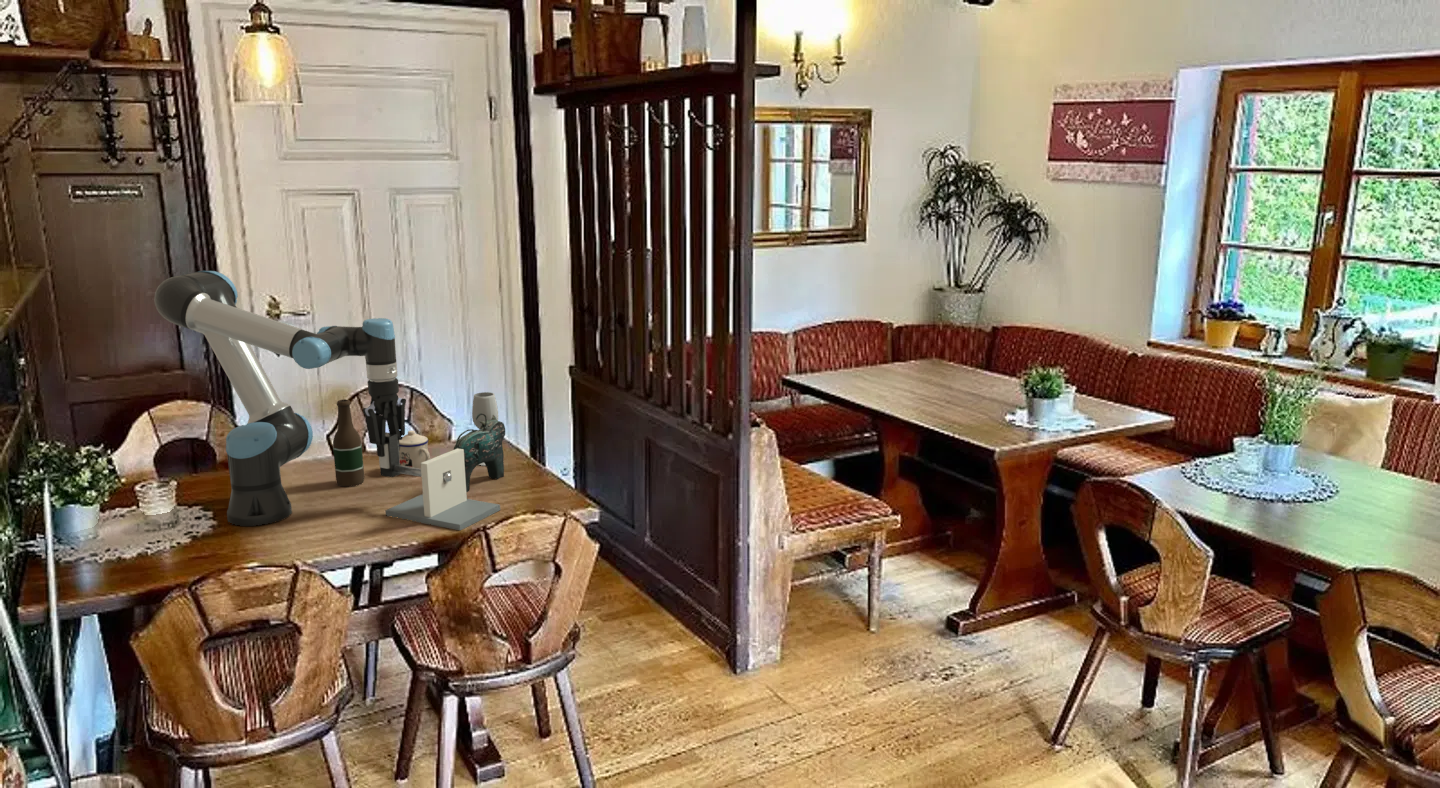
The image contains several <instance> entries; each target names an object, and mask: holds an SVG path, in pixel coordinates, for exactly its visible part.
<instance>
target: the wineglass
mask: <svg viewBox="0 0 1440 788" xmlns="http://www.w3.org/2000/svg"><path fill="white" fill-rule="evenodd" d="M497 404H498V403H497V400H496V396H495V393H494V392H489V391H487V392H486V391H485V392H483V391H482V392H476V393H474V394H473V399H472V409H471V417H472V418H471V419H472V423H473V425H474V426H475V427H476V428H477V430H480V427H481V425H482V424H481V423H480V422H479V421H483V422H485V417H484V415H480V416H479V417H478V419H477V420H476V417H477V415H478V414H480V413H482V414H485V415H486V419H487V420H491V419H492V416H493V415H494V416H495V417H496V419H497V420H498V421H499V410H498V405H497ZM479 465H481V466H480V467H486V464H485V463H481V464H479ZM479 465H478V466H479Z"/></svg>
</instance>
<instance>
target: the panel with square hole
mask: <svg viewBox="0 0 1440 788" xmlns="http://www.w3.org/2000/svg"><path fill="white" fill-rule="evenodd" d="M443 473H450V474H451V475H452V479H451V480H450V481H449V482H445V481H443ZM421 476H422V477H421V487H422V494H419V495H417V496H415V497H412V498H411V499H409V500H405V501H403V502H401V503H399V504H397V505H394V506H392V507H390V508H387V509H385V516H386V515H387V516H386V517H389V516H392V517H391V518H394V517H398V518H397V519H399V518H402V519H401V520H404V519H408V520H407V521H409V520H412V522H415V521H416V523H420V522H421V523H420V524H426V525H430V524H431V525H430V526H436V527H441V528H447V529H451V530H456V531H462V530H464V529H466V528H468V527H470V526H471V525H474V524H476V523H478V522H480V521H482V520H484V519H486V518H488V517H489V516H491V515H493V514H496V513H497V512H499V511H501V504H498V503H494V502H489V501H480V500H476V499H470V498H468V496H467V492H466V479H465V463H464V449H458V448H457V449H455V450H450V451H448V452H445V453H442V454H440V455H438V456H434V457H433V458H430V460H427V461H425V462H422V463H421Z"/></svg>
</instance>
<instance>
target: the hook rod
mask: <svg viewBox="0 0 1440 788" xmlns="http://www.w3.org/2000/svg"><path fill="white" fill-rule="evenodd" d="M385 444H388V453H389V465H390V468H388V469H386V468H380V467H379V468H380V469H379V470H380V471H379V472H380V476H382V477H388V478H394V477H397V476H399V475H401V474H402V475H403V474H404V475H408V476H409V475H410V476H414V477H421V478H422V476H421V469H419V468H413V467H407V466H401V465H400V461H399V449H398V436H397V434H393V433H389V432H385ZM451 479H452V475H451V474H450V473H443V481H445V482H449V481H450V480H451Z"/></svg>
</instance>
